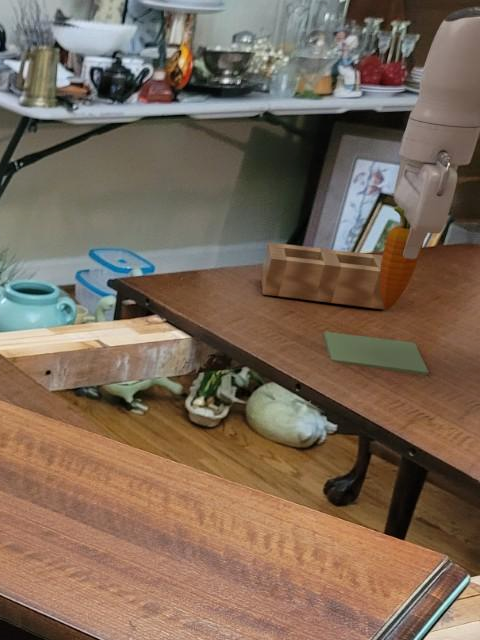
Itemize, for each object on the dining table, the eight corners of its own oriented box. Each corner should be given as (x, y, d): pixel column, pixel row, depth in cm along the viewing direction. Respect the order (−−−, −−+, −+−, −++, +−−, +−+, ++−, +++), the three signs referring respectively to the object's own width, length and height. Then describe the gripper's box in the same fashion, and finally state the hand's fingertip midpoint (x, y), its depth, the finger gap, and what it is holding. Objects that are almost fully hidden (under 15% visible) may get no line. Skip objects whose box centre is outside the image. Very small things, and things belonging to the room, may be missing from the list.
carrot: (392, 316, 153) (422, 205, 145) (361, 307, 157) (388, 198, 149) (412, 310, 156) (443, 200, 148) (381, 301, 159) (409, 194, 151)
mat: (413, 348, 164) (415, 342, 164) (427, 377, 153) (429, 372, 153) (322, 336, 166) (324, 331, 166) (330, 364, 156) (331, 359, 155)
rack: (376, 291, 189) (387, 255, 186) (384, 309, 180) (396, 272, 177) (260, 277, 193) (268, 242, 189) (262, 294, 184) (271, 258, 180)
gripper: (479, 161, 135) (442, 274, 143) (449, 135, 152) (418, 237, 159) (425, 156, 136) (391, 268, 144) (401, 131, 153) (372, 232, 161)
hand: (405, 251), depth 152 cm, fingers closed on carrot, 5 cm apart
